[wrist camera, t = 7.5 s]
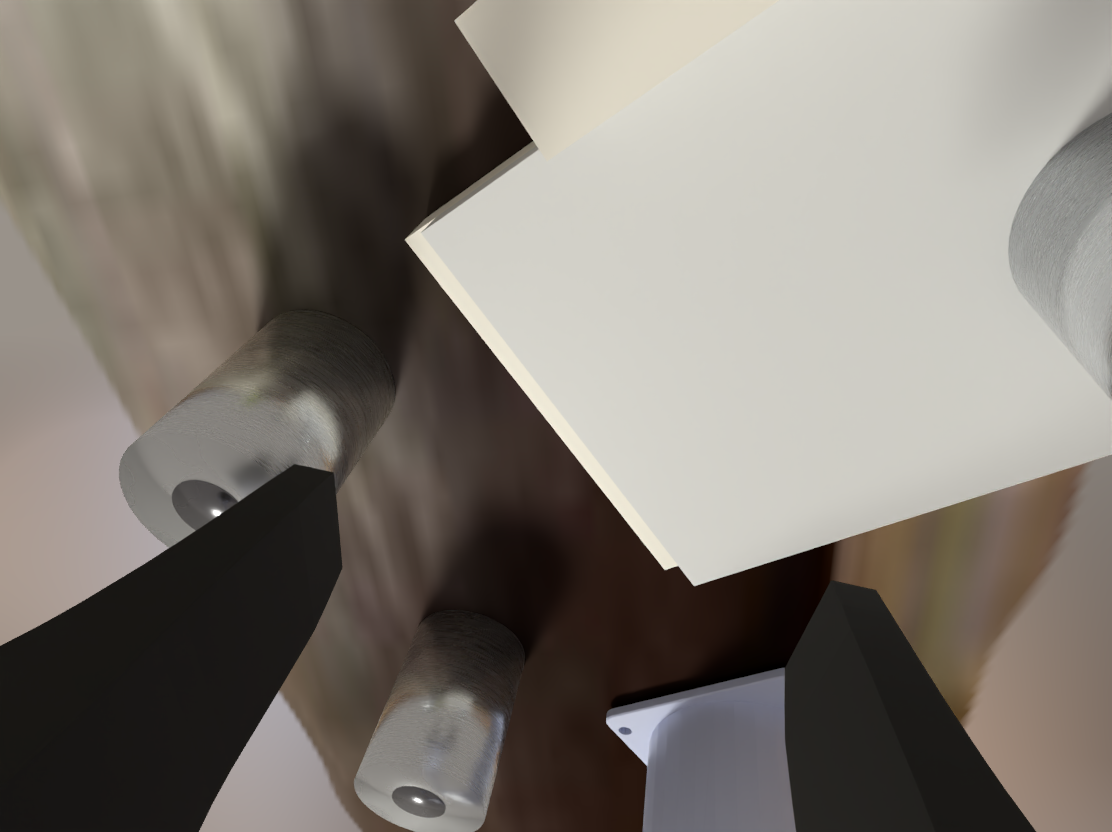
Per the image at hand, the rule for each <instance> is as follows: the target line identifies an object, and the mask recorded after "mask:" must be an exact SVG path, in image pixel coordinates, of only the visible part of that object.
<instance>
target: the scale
mask: <svg viewBox="0 0 1112 832" xmlns="http://www.w3.org/2000/svg"><path fill="white" fill-rule="evenodd" d="M454 21H455V23H456V24H457V26H458V27H459V29H460V30H461V32H462V33H463V35H464V36H465V38H466V39H467V41H468V42H469V44H470V45H471V47H472V49H473V50H474V52H475V53H476V55H477V56H478V58H479V59H480V61H481V62H482V64H483V65H484V67H485V68H486V70H487V71H488V73H489V74H490V76H491V77H492V79H493V80H494V82H495V83H496V85H497V86H498V88H499V89H500V91H501V93H502V94H503V96H504V97H505V99H506V100H507V102H508V103H509V105H510V106H511V108H512V109H513V111H514V112H515V114H516V115H517V117H518V118H519V120H520V121H521V123H522V124H523V126H524V127H525V129H526V130H527V132H528V133H529V135H530V137H531V138H532V140H533V141H532V142H531V143H530V144H528V145H527V146H526V147H524V148H523V149H521V150H520V151H519V152H517V153H516V154H514V155H513V156H512V157H510V158H509V159H507V160H506V161H505V162H503V163H502V164H500V165H499V166H498V167H496V168H495V169H493V170H492V171H491V172H489V173H488V174H487V175H485V176H484V177H482V178H481V179H480V180H478V181H477V182H475V183H474V184H473V185H471V186H470V187H468V188H467V189H466V190H464V191H463V192H461V193H460V194H459V195H457V196H456V197H455V198H453V199H452V200H450V201H449V202H448V203H446V204H445V205H443V206H442V207H441V208H439V209H438V210H436V211H435V212H434V213H432V214H431V215H429V216H428V217H427V218H425V219H424V220H423V221H422V222H421V223H420V224H419V225H418V226H417V228H416V229H415V230H414V231H413V232H412V233H411V234H410V235H409V236H408V237H407V238H406V239H405V241H406V242H407V243H408V245H409V246H410V247H411V248H412V250H413V251H414V252H415V254H416V255H417V256H418V257H419V259H420V260H421V261H422V262H423V264H424V265H425V266H426V268H427V269H428V270H429V271H430V273H431V274H432V275H433V276H434V278H435V279H436V280H437V281H438V283H439V284H440V285H441V287H442V288H443V289H444V290H445V292H446V293H447V294H448V295H449V297H450V298H451V299H452V301H453V302H454V303H455V304H456V306H457V307H458V308H459V309H460V311H461V312H462V313H463V314H464V316H465V317H466V318H467V320H468V321H469V322H470V323H471V325H472V326H473V327H474V328H475V330H476V331H477V332H478V334H479V335H480V336H481V337H482V339H483V340H484V341H485V342H486V344H487V345H488V346H489V347H490V349H491V350H492V351H493V353H494V354H495V355H496V356H497V358H498V359H499V360H500V361H501V363H502V364H503V365H504V367H505V368H506V369H507V370H508V372H509V373H510V374H511V375H512V377H513V378H514V379H515V380H516V382H517V383H518V384H519V386H520V387H521V388H522V389H523V391H524V392H525V393H526V394H527V396H528V397H529V398H530V399H531V401H532V402H533V403H534V405H535V406H536V407H537V408H538V410H539V411H540V412H541V413H542V415H543V416H544V417H545V419H546V420H547V421H548V422H549V424H550V425H551V426H552V427H553V429H554V430H555V431H556V432H557V434H558V435H559V436H560V438H561V439H562V440H563V441H564V443H565V444H566V445H567V446H568V448H569V449H570V450H571V452H572V453H573V454H574V455H575V457H576V458H577V459H578V460H579V462H580V463H581V464H582V465H583V467H584V468H585V469H586V471H587V472H588V473H589V474H590V476H591V477H592V478H593V479H594V481H595V482H596V483H597V485H598V486H599V487H600V488H601V490H602V491H603V492H604V493H605V495H606V496H607V497H608V498H609V500H610V501H611V502H612V504H613V505H614V506H615V507H616V509H617V510H618V511H619V512H620V514H621V515H622V516H623V518H624V519H625V520H626V521H627V523H628V524H629V525H630V526H631V528H632V529H633V530H634V531H635V533H636V534H637V535H638V537H639V538H640V539H641V540H642V542H643V543H644V544H645V545H646V547H647V548H648V549H649V551H650V552H651V553H652V554H653V556H654V557H655V558H656V559H657V561H658V562H659V563H660V564H661V566H662V567H663V568H664V570H666V569H669V568H672V567H675V566H679V567H680V568H681V570H682V571H683V572H684V574H685V575H686V576H687V578H688V579H689V580H690V581H691V583H692V584H693V585H694V586H696V585H699V584H702V583H705V582H708V581H711V580H715V579H718V578H721V577H724V576H727V575H731V574H734V573H737V572H740V571H743V570H746V569H750V568H753V567H756V566H759V565H762V564H766V563H769V562H772V561H775V560H778V559H781V558H785V557H788V556H791V555H794V554H797V553H801V552H804V551H807V550H810V549H813V548H816V547H820V546H823V545H826V544H829V543H832V542H836V541H839V540H842V539H845V538H848V537H851V536H855V535H858V534H861V533H864V532H867V531H871V530H874V529H877V528H880V527H883V526H886V525H890V524H893V523H896V522H899V521H902V520H906V519H909V518H912V517H915V516H918V515H921V514H925V513H928V512H931V511H934V510H937V509H941V508H944V507H947V506H950V505H953V504H956V503H960V502H963V501H966V500H969V499H972V498H976V497H979V496H982V495H985V494H988V493H991V492H995V491H998V490H1001V489H1004V488H1007V487H1011V486H1014V485H1017V484H1020V483H1023V482H1026V481H1030V480H1033V479H1036V478H1039V477H1042V476H1046V475H1049V474H1052V473H1055V472H1058V471H1061V470H1065V469H1068V468H1071V467H1074V466H1077V465H1081V464H1084V463H1087V462H1090V461H1093V460H1096V459H1100V458H1103V457H1106V456H1109V455H1112V401H1111V400H1110V399H1109V397H1108V396H1107V395H1106V394H1105V393H1104V391H1103V390H1102V389H1101V388H1100V387H1099V386H1098V384H1097V383H1096V382H1095V381H1094V380H1093V379H1092V377H1091V376H1090V375H1089V374H1088V373H1087V372H1086V370H1085V369H1084V368H1083V367H1082V366H1081V364H1080V363H1079V362H1078V361H1077V360H1076V359H1075V357H1074V356H1073V355H1072V354H1071V353H1070V352H1069V350H1068V349H1067V348H1066V347H1065V346H1064V345H1063V343H1062V342H1061V341H1060V340H1059V339H1058V337H1057V336H1056V335H1055V334H1054V333H1053V332H1052V330H1051V329H1050V328H1049V327H1048V326H1047V325H1046V323H1045V322H1044V321H1043V320H1042V319H1041V318H1040V316H1039V315H1038V314H1037V313H1036V312H1035V310H1034V309H1033V308H1032V307H1031V306H1030V305H1029V303H1028V302H1027V301H1026V300H1025V298H1024V297H1023V296H1022V294H1021V293H1020V292H1019V290H1018V288H1017V286H1016V284H1015V282H1014V280H1013V277H1012V274H1011V270H1010V266H1009V257H1008V247H1009V236H1010V231H1011V227H1012V223H1013V220H1014V217H1015V214H1016V212H1017V209H1018V207H1019V205H1020V203H1021V201H1022V199H1023V197H1024V195H1025V193H1026V191H1027V190H1028V188H1029V187H1030V185H1031V184H1032V182H1033V181H1034V179H1035V177H1036V176H1037V175H1038V174H1039V172H1040V171H1041V170H1042V169H1043V168H1044V166H1045V165H1046V164H1047V163H1048V162H1049V161H1050V160H1051V159H1052V158H1053V157H1054V156H1055V155H1056V154H1057V153H1058V152H1059V151H1060V150H1061V149H1062V147H1064V146H1065V145H1066V144H1067V143H1068V142H1070V141H1071V140H1072V139H1073V138H1074V137H1076V136H1077V135H1078V134H1079V133H1081V132H1082V131H1084V130H1085V129H1087V128H1088V127H1089V126H1091V125H1092V124H1094V123H1095V122H1097V121H1098V120H1100V119H1102V118H1104V117H1105V116H1107V115H1109V114H1111V113H1112V0H477V1H476V2H475V3H474V4H473V5H472V6H471V7H469V8H468V9H467V10H466V11H465V12H464V13H463V14H461V15H460V16H459V17H458V18H457V19H456V20H454Z"/></svg>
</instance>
